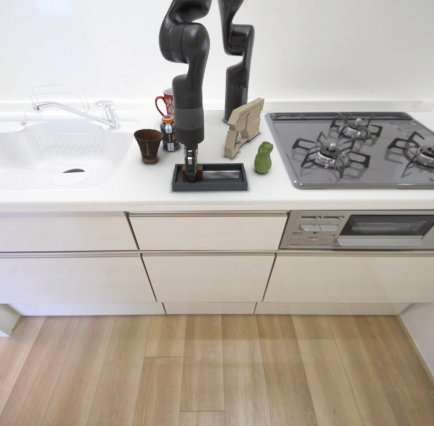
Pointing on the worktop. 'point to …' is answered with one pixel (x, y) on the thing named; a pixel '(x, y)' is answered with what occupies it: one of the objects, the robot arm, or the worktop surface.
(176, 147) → the pill bottle
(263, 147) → the pear
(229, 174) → the knife
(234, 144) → the gun
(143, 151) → the cup
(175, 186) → the dark grey tray
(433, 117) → the worktop surface
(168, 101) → the mug
